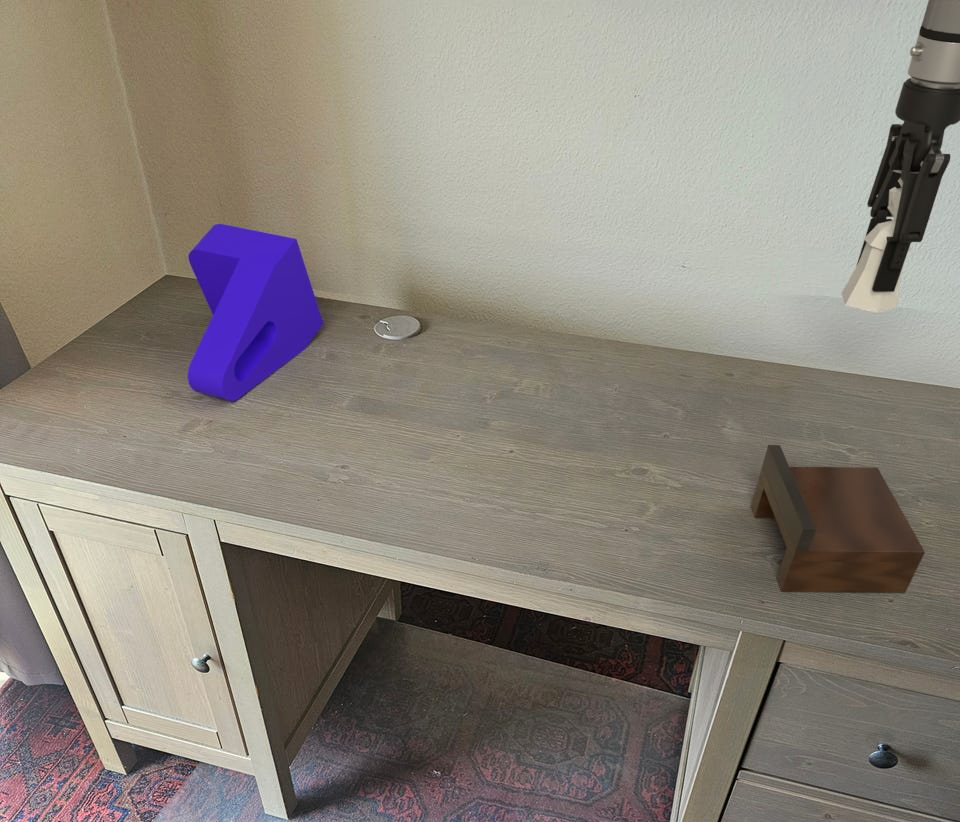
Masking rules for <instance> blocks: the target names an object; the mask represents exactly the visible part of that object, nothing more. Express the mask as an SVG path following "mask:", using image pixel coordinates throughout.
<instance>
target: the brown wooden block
mask: <svg viewBox="0 0 960 822" xmlns="http://www.w3.org/2000/svg"><path fill="white" fill-rule="evenodd" d="M761 465H762V466H761V469H760V473H759V476H758V478H757V479H758V480H757V483H756V486H755V490H754V494H753V497H752V501H751V503H750V508H751V512H752V514H753V517H754V518H755V519H775V521H776V524H777V526H778V529H779V532H780V534H781V536H782V538H783V542H784V544H785V547H786V548H785V552H784V554H783V558H782V561H781V563H780V566H779V569H778V572H777V575H776V580H777V583H778V586H779V590H780V592H781V593H853V594H854V593H855V594H856V593H861V594H862V593H863V594H865V593H866V594H867V593H868V594H905V593H906V592H907V590H908V588H909V586H910V584H911V581H912V580H913V578H914V576H915V574H916V572H917V569H918V567H919V565H920V564H921V561H922V560H923V558H924V556H925V554H926V551H925V549H924V548H923V545H922V544H921V542H920V540H919V539H918V537H917V535H916V533H915V531H914V530H913V528H912V526H911V525H910V523H909V521H908V519H907V517H906V515H905V514H904V512H903V509H902V508H901V507H900V505H899V503H898V501H897V499H896V498H895V496H894V494H893V493H892V491H891V489H890V487H889V485H888V484H887V481H886V480H885V478H884V476H883V475H882V473H881V470H880V469H879V468H878V467H873V466H872V467H864V466H863V467H861V466H860V467H859V466H858V467H857V466H789V462H788V461H787V458H786V456H785V453H784V451H783V449H782V447H781V445H780V444H768V445H767V447H766V451H765V455H764V458H763V462H762V464H761Z"/></svg>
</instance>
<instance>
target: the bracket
mask: <svg viewBox="0 0 960 822" xmlns="http://www.w3.org/2000/svg"><path fill="white" fill-rule="evenodd" d="M297 239H298V238H295V237H289V236H284V235H279V234H275V233H269V232H264V231H260V230H259V231H258V230H254V229H248V228H244V227H239V226H234V225H230V224H224V223H215V224H214V225H212V227H211V228H210V229H209V230H208V231H207V232H206V233H205V234H204V235H203V236H202V238H201V239H200V240H199V241H198V242H197V243H196V244H195V246H194V247H193V248H192V249H191V251H189V253H188V262H189V265H190V267H191V269H192V272H193V274H194V276H195V278H196V281H197V283H198V285H199V287H200V289H201V291H202V294H203V296H204V299H205V300H206V303H207V306H208V307H209V309H210V311H211V314H212V317H211V319H210V322H209V324H208V326H207V327H206V330H205V332H204V334H203V336H202V338H201V340H200V342H199V345H198V347H197V349H196V351H195V352H194V355H193V357H192V359H191V362H190V364H189V366H188V369H187V381H188V384H189V387H190V388H191V390H192V391H194V392H196V393H200V394H204V395H207V396H211V397H214V398H218V399H221V400H225V401H230V402H234V401H237V400H239V399H240V398H241V397H242V396H244V395H245V394H246V393H248V392H249V391H251V390H252V389H253V388H254V387H256V386H258V385H259V384H260V383H262V382H264V381H265V379H267V378H268V377H270V376H271V375H273V374H274V373H275V372H276V371H278V370H279V369H280V368H281V367H283V366H285V365H286V364H287V363H288V362H289V361H291V360H292V359H294V358H295V357H296V356H298V355H299V354H301V353H302V352H304V350H305V349H306V348H307V347H308V345H309V344H310V343H311V341H312V340H313V339H314V337H315V336H316V334H317V333H318V332H319V331H320V329H321V328H322V326H323V325H324V320H323V317H322V314H321V311H320V308H319V304H318V302H317V299H316V295H315V292H314V289H313V286H312V283H311V279H310V277H309V274H308V270H307V267H306V263H305V260H304V258H303V255H302V252H301V248H300V246H299V242H298V240H297Z"/></svg>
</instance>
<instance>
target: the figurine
mask: <svg viewBox="0 0 960 822" xmlns="http://www.w3.org/2000/svg"><path fill="white" fill-rule="evenodd" d="M892 171H895V172H898V173H901V172H902V170H892ZM911 173H919V172H911ZM898 182H899V183H900V186H901V188H898V189H897V188H896V187H894V188H892V189H890V190H889V206H888V210H889V211H890V213H891V214H892V216H893V217H892V221H888V222H883V223H879V224H877V225H876V226H875V228H874V229H873V230H872V231H871V232H870V233H869V234H868V235H867V236H866V235H865V236H866V237H864V238H863V241H864V240H865V241H866V242H867V243H866V245H865V248H864V250H863V253H862V255H861V258H860V260H859V263H858V265H857V264H856V266H855V268H854V270H853V272H852V274H851V275H850V277H849V279H848V280H847V283H846V284H845V286H844V288H843V290H842V291H841V296H842V300H843V303H844V306H845V307H851V308H855V309H858V310H862V311H868V312H872V313H876V314H878V313H882V312H886V311H890V310H894V309H897V308H898V307H897V306H898V299H899V293H900V283H901V277H902V273H903V269H904V266H905V265H904V264H905V263H904V264H903V267H902V270H901V273H900V276H899V279H898V282H897V284H896V287H895V290H894V292H874V291H873V290H872V287H873V284H874V281H875V278H876V275H877V272H878V269H879V266H880V262H881V259H882V256H883V253H884V250H885V247H886V244H887V237H893V233H894V228H895V223H896V218H897V213H898V208H899V203H900V198H901V192H902V187H903V181H902V180H901V177H900V179H899V180H898ZM929 220H931V217H929ZM910 252H911V246H910V247H909V250H908V253H910Z"/></svg>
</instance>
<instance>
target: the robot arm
mask: <svg viewBox="0 0 960 822" xmlns="http://www.w3.org/2000/svg"><path fill="white" fill-rule="evenodd" d="M918 31H919V32H918V35H917V38H916V42H915V45H914V46H911V48H910V50H909V55H910V56H911V58H910V62H909V65H908V68H907V75H908V76H909V78H907V79H906V80H905V81H904V82H903V84H902V87H901V90H900V93H899V97H898V100H897V103H896V105H895V106H896V107H895V111H894V114H895V116H896V118H898V119H899V120H901V121H903V123H892V124H891V126H889V127H890V128H889V132H888V137H887V142H886V145H885V148H884V152H883V154H882V158H881V160H880V164H879V166H878V170H877V172H876V176H875V178H874V182H873V183H872V188H871V190H870V194H869V197H868V200H867V207H868V208H871V209H870V213H869V215H870V220H869V223H868V226H867V230H866V233H865V237H866V236H867V235H868V234H869V233H870V232H871V231H872V230H873V229H874V228H875V226H876V225H877V224H879V223H883V222H888V221H892V220H893V216H892V214H891V213H890V211H889V210H888V206H889V190H890V189H892V188H894V187H896V188H897V189H898V188H901V186H900V183H899V182H898V180H899V179H900V177H901V180H902V181H903V187H902V192H901V198H900V203H899V208H898V213H897V218H896V223H895V228H894V233H893V237H887V244H886V247H885V250H884V253H883V256H882V259H881V262H880V266H879V269H878V272H877V275H876V278H875V281H874V284H873V287H872V290H873V291H874V292H894V290H895V287H896V284H897V282H898V279H899V276H900V273H901V270H902V271H903V269H902V267H903V268H904V265H903V264H905V262H906V258H907V256H908V253H909V252H908V250H909V247H910V248H911V244H912V243H921V242H922V241H923V238H924V236H925V234H926V233H925V232H926V230H927V227H928V223H929V221H930V219H929V218H931V214H932V210H933V207H934V205H935V201H936V198H937V194H938V191H939V189H940V185H941V182H942V179H943V176H944V174H945V173H946V170H947V168H948V166H949V163H950V161H951V153H943V152H942V150H941V149H942V146H943V141H944V136H945V130H946V129H947V128H948V127H949V126H953V125H956V124H958V123H959V122H960V0H928V1H927V5H926V8H925V12H924V16H923V19H922V23H921V25H920V27H919V30H918ZM892 170H902V172H901V173H898V172H895V171H892ZM911 172H919V173H911ZM865 237H864V238H865ZM866 243H867V242H866V241H865V240H864V239H863V243H862V246H861V249H860V252H859V256H858V259H857V263H856V266H857V265H858V263H859V260H860V258H861V255H862V253H863V250H864V248H865V245H866ZM901 274H902V273H901Z"/></svg>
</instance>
